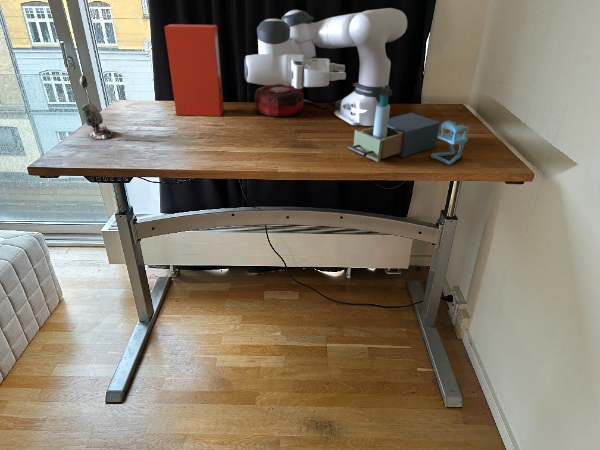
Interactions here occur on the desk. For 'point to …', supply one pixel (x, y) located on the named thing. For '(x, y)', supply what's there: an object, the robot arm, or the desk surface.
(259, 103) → the red flat cylinder
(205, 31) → the file binder
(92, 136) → the plant with pod
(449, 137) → the chair
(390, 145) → the drawer
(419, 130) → the cabinet
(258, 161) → the desk surface
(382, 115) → the spray bottle
